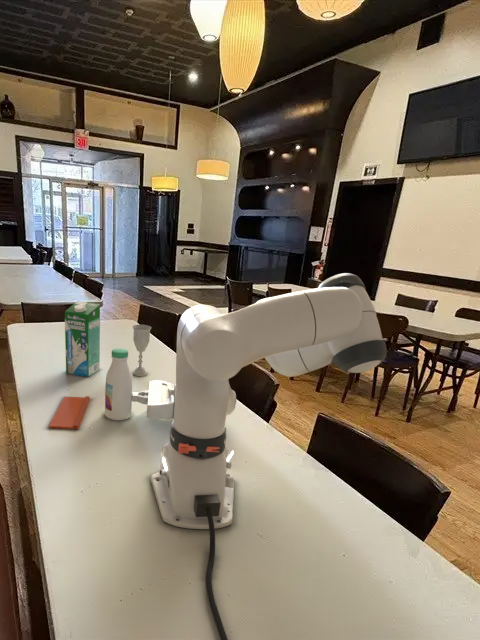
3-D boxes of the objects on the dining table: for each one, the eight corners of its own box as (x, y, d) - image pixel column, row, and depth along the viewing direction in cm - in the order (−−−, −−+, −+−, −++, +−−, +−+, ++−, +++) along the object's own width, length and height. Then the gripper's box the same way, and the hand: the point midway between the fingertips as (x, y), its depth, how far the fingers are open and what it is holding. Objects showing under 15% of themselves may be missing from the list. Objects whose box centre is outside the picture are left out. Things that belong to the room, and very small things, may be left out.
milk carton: (65, 372, 150) (64, 304, 141) (78, 365, 158) (77, 300, 149) (88, 377, 148) (88, 308, 139) (99, 369, 156) (100, 303, 147)
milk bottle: (133, 410, 125) (136, 347, 118) (128, 422, 118) (131, 355, 111) (108, 408, 126) (109, 345, 118) (102, 419, 118) (103, 353, 111)
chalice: (128, 371, 157) (129, 324, 151) (144, 369, 160) (147, 324, 153) (134, 377, 151) (136, 329, 144) (151, 376, 154) (154, 329, 147)
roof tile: (78, 429, 112) (78, 425, 112) (48, 428, 111) (48, 424, 111) (90, 399, 130) (90, 396, 130) (64, 398, 130) (64, 395, 130)
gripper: (178, 376, 129) (134, 373, 128) (181, 403, 110) (129, 400, 109) (177, 395, 132) (133, 392, 131) (179, 424, 113) (129, 422, 112)
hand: (132, 396), depth 120 cm, fingers closed, pressing on milk bottle
